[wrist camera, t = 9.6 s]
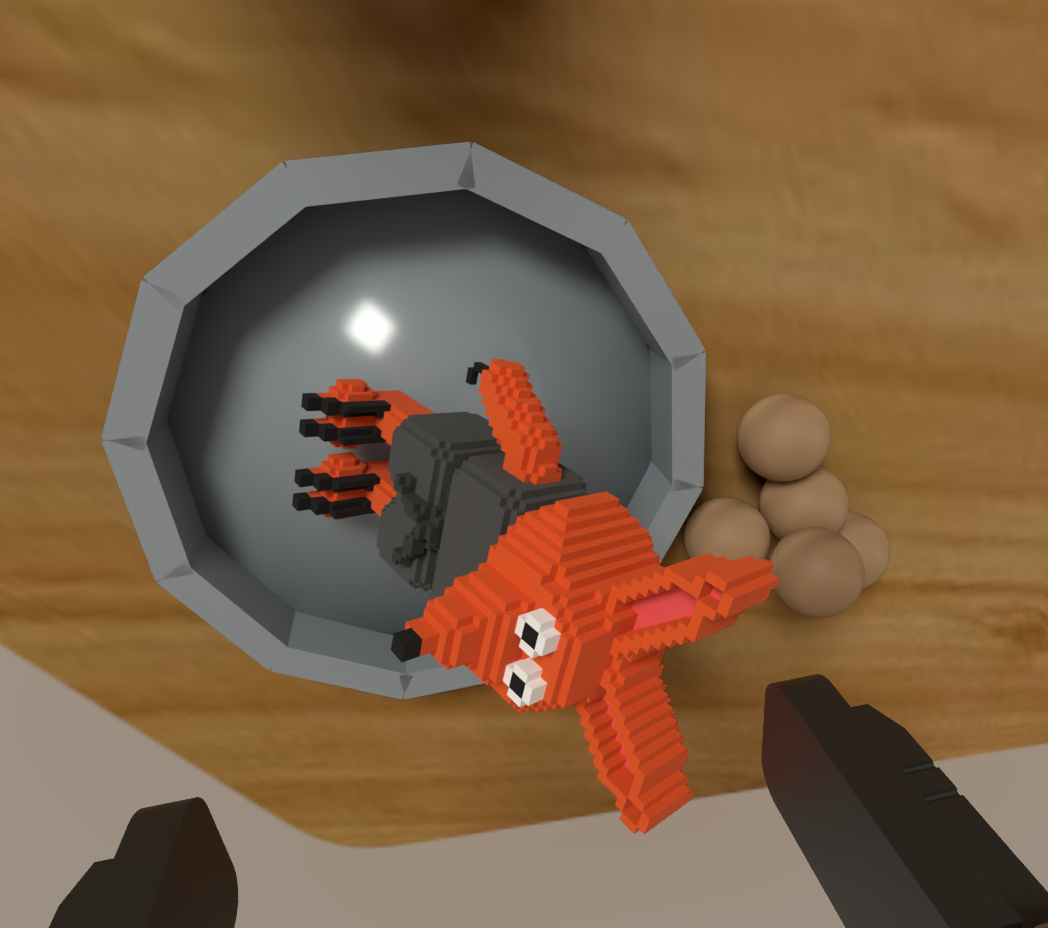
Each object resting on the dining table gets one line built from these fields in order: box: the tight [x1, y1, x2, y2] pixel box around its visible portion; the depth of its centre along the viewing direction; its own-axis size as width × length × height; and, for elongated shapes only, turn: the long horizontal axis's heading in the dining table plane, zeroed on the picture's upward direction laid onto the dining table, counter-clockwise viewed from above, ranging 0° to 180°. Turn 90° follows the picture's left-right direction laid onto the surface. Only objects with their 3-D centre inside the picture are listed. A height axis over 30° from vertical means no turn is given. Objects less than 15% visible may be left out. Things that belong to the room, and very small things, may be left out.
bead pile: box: [684, 394, 890, 617], centre depth 22 cm, size 7×8×5 cm
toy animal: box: [292, 359, 780, 834], centre depth 15 cm, size 8×6×12 cm
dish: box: [101, 142, 706, 699], centre depth 20 cm, size 16×16×2 cm
